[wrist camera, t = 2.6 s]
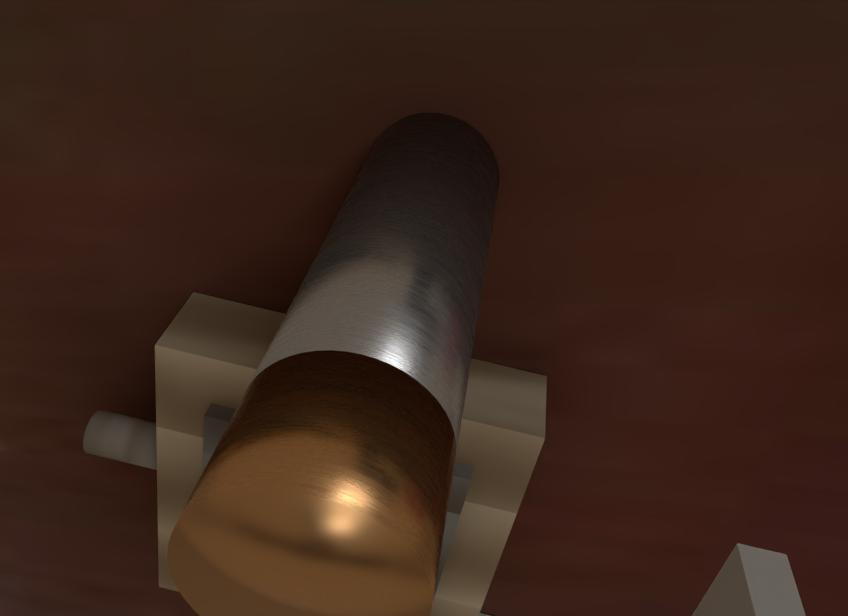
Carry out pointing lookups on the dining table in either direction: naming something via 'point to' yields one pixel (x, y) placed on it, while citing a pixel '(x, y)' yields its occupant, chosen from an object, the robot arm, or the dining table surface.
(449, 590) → the chuck block
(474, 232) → the copper capped silver cylinder
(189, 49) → the dining table surface
